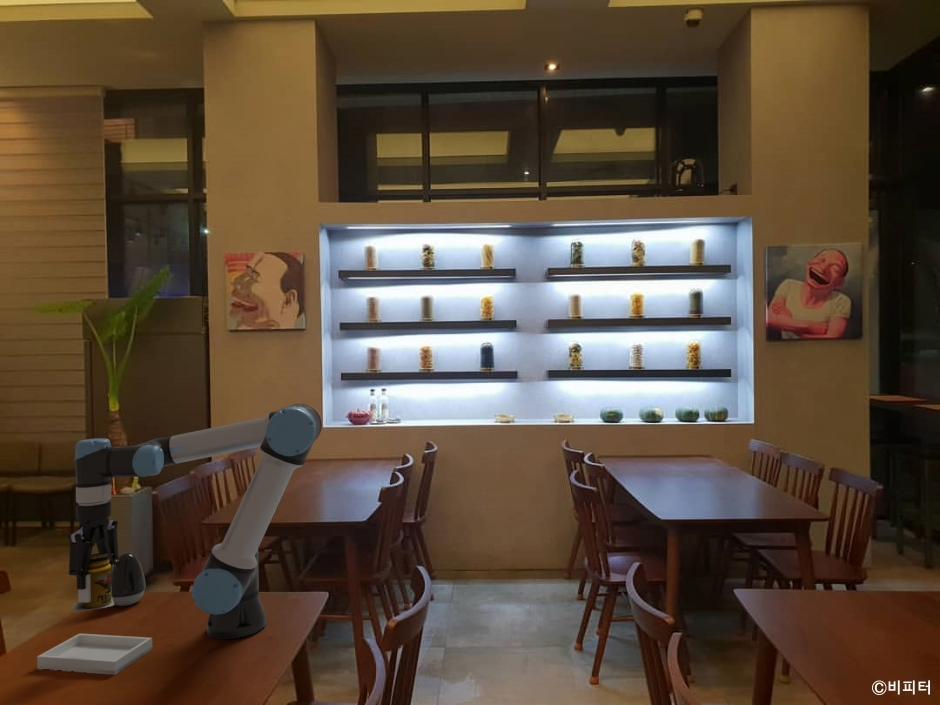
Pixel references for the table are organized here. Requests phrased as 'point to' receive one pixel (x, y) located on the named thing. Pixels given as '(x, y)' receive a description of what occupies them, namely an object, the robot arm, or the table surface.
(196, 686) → the table surface
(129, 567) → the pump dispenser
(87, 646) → the white tray
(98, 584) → the condiment
